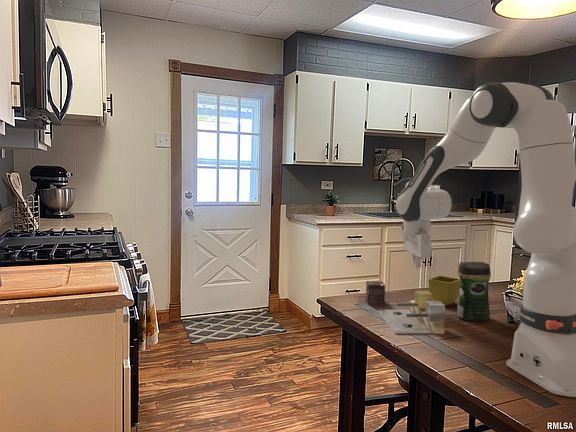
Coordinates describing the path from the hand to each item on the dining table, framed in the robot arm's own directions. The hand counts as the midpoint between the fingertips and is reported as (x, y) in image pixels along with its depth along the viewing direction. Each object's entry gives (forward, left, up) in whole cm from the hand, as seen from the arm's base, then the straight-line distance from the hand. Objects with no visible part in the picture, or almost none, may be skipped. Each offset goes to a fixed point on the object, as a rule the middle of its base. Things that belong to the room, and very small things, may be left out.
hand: (417, 267), depth 149 cm
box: (+8, +13, -15) cm, 21 cm away
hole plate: (-14, +9, -15) cm, 22 cm away
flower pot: (+7, -12, -15) cm, 21 cm away
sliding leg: (-9, +4, -12) cm, 15 cm away
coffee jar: (-10, -15, -15) cm, 24 cm away
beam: (-12, +4, -15) cm, 19 cm away
